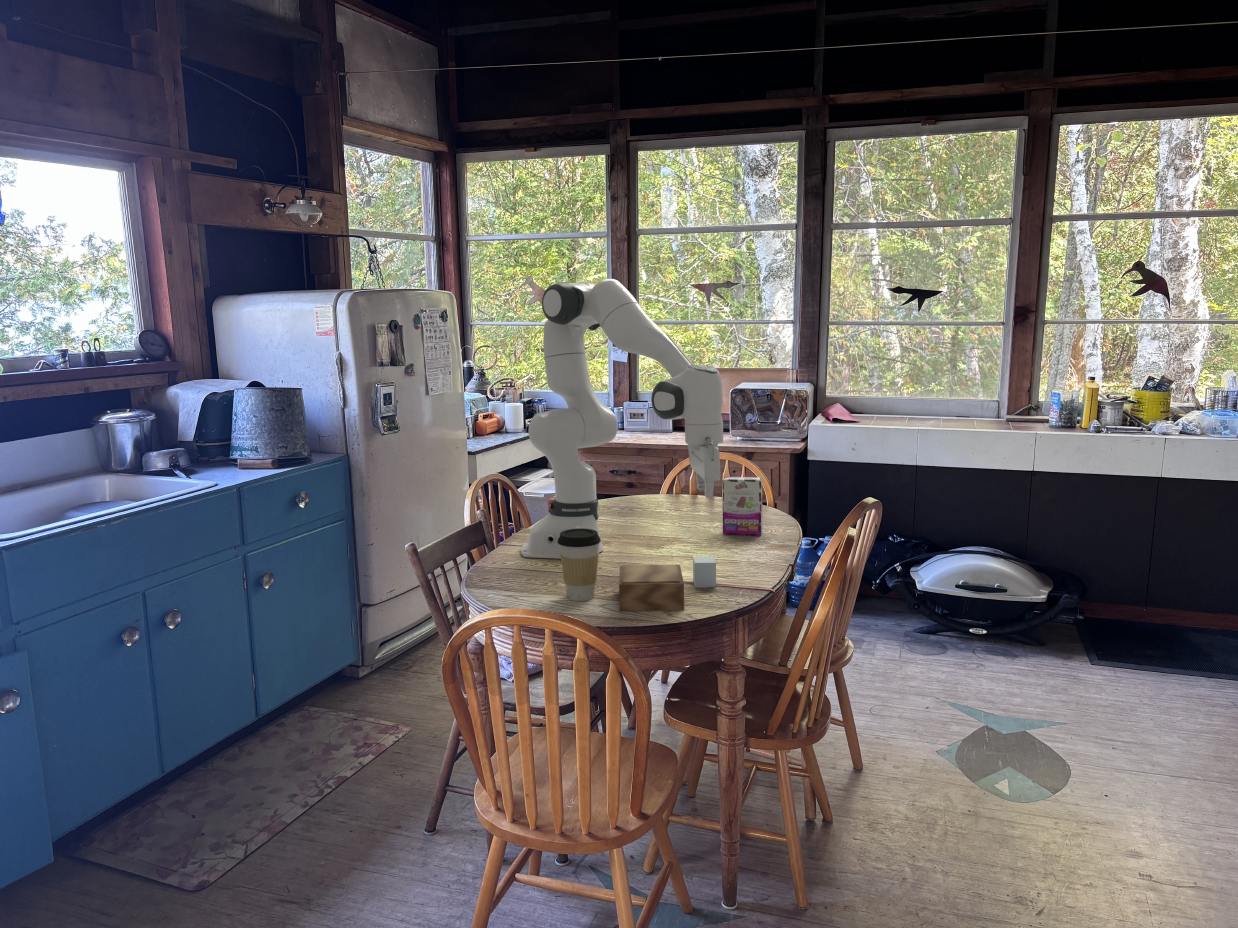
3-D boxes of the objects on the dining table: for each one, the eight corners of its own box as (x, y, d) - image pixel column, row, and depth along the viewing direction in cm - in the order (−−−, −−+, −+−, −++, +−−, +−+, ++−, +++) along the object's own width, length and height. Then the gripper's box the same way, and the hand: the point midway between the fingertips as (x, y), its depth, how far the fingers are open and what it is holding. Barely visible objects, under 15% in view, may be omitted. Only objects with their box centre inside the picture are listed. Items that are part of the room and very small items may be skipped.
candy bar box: (762, 532, 250) (763, 476, 247) (761, 536, 246) (761, 480, 243) (724, 530, 253) (724, 475, 250) (722, 534, 248) (722, 479, 245)
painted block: (694, 587, 202) (694, 562, 201) (693, 580, 207) (693, 556, 206) (716, 587, 202) (716, 562, 201) (713, 580, 207) (714, 556, 206)
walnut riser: (619, 610, 187) (619, 583, 186) (620, 590, 201) (619, 564, 199) (684, 609, 187) (683, 582, 185) (680, 589, 200) (680, 563, 199)
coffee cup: (601, 589, 202) (600, 527, 199) (602, 603, 192) (600, 538, 189) (559, 590, 201) (557, 528, 199) (558, 604, 192) (556, 539, 189)
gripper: (726, 440, 190) (727, 501, 192) (709, 429, 210) (710, 485, 212) (698, 441, 189) (699, 503, 191) (683, 430, 209) (684, 486, 212)
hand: (705, 493), depth 202 cm, fingers open, 8 cm apart
